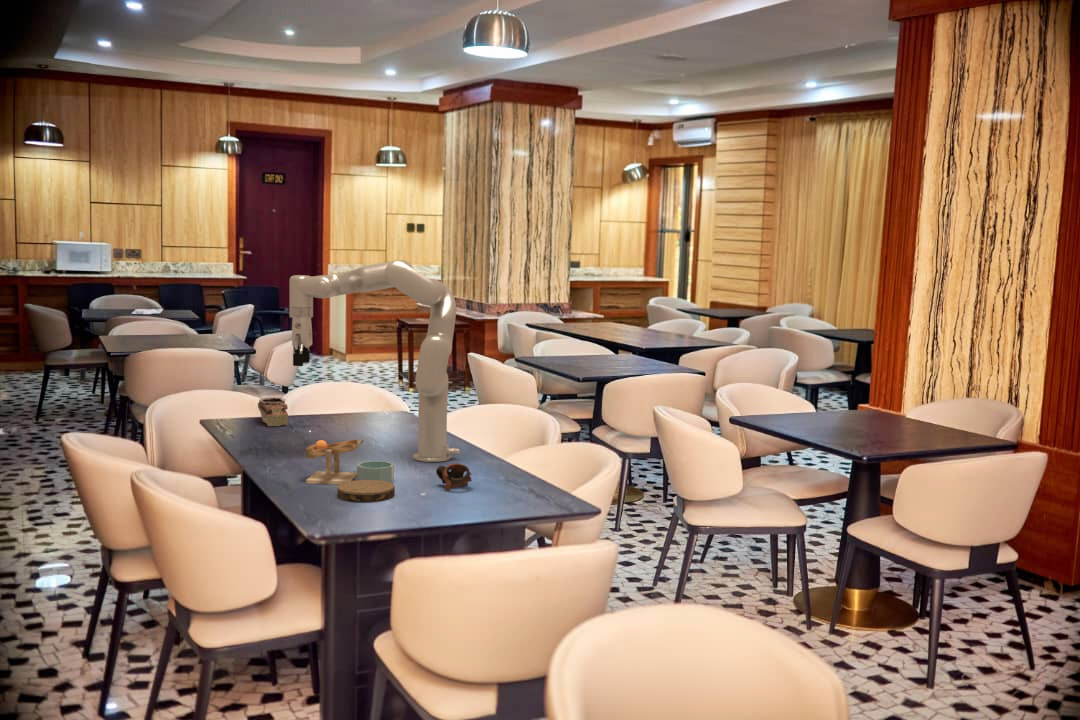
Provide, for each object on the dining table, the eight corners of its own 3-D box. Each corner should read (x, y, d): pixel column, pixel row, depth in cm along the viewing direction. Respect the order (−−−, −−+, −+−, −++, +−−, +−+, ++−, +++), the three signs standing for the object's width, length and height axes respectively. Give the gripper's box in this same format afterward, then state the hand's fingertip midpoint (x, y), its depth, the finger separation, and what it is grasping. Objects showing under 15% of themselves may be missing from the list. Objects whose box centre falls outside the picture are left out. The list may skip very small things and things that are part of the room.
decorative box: (253, 428, 383) (253, 403, 382) (249, 419, 402) (249, 395, 401) (288, 427, 388) (288, 402, 387) (283, 418, 406) (283, 395, 405)
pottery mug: (477, 487, 299) (478, 466, 294) (461, 506, 292) (461, 486, 287) (443, 473, 303) (443, 452, 298) (426, 491, 296) (425, 471, 291)
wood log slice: (370, 506, 273) (370, 495, 272) (325, 498, 280) (325, 487, 280) (405, 494, 287) (405, 484, 286) (362, 487, 294) (362, 477, 294)
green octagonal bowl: (395, 477, 306) (395, 461, 306) (389, 485, 296) (389, 468, 295) (362, 476, 307) (362, 460, 306) (354, 484, 296) (354, 467, 296)
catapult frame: (358, 475, 308) (358, 443, 306) (349, 484, 296) (349, 451, 295) (316, 474, 308) (316, 442, 307) (305, 483, 296) (305, 449, 295)
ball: (330, 449, 303) (326, 437, 302) (327, 451, 299) (323, 439, 299) (318, 452, 303) (315, 440, 303) (315, 454, 299) (312, 443, 299)
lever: (364, 442, 312) (362, 432, 312) (352, 452, 296) (350, 441, 296) (320, 449, 313) (318, 439, 313) (307, 460, 297) (304, 449, 297)
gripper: (307, 314, 323) (307, 367, 324) (318, 311, 340) (318, 361, 342) (283, 314, 322) (283, 366, 324) (295, 311, 340) (295, 361, 341)
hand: (301, 364), depth 333 cm, fingers open, 9 cm apart
